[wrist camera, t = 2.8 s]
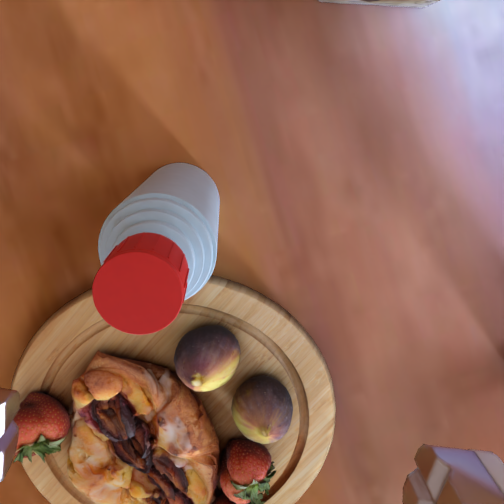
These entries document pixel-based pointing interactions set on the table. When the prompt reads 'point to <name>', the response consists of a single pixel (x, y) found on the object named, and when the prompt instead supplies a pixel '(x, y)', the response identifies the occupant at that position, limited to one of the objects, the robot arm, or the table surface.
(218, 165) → the table surface
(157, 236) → the cap
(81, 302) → the wooden plate
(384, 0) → the coffee box
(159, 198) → the bottle
